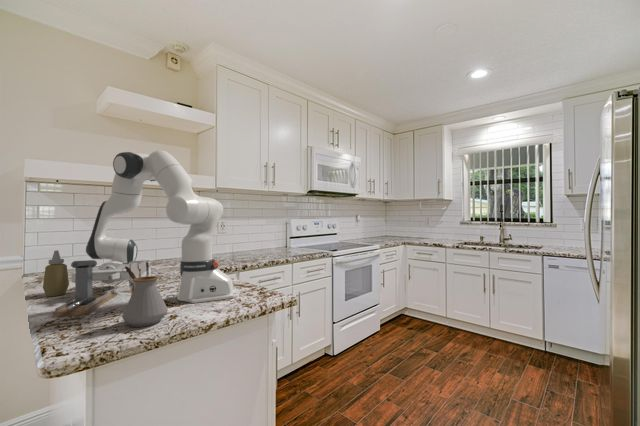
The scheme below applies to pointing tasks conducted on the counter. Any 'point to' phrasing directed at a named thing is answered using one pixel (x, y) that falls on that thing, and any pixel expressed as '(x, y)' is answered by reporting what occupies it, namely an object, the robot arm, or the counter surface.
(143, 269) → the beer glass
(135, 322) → the coffee pot
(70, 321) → the counter surface
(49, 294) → the squeeze bottle
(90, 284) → the handle
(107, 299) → the track
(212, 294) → the robot arm
